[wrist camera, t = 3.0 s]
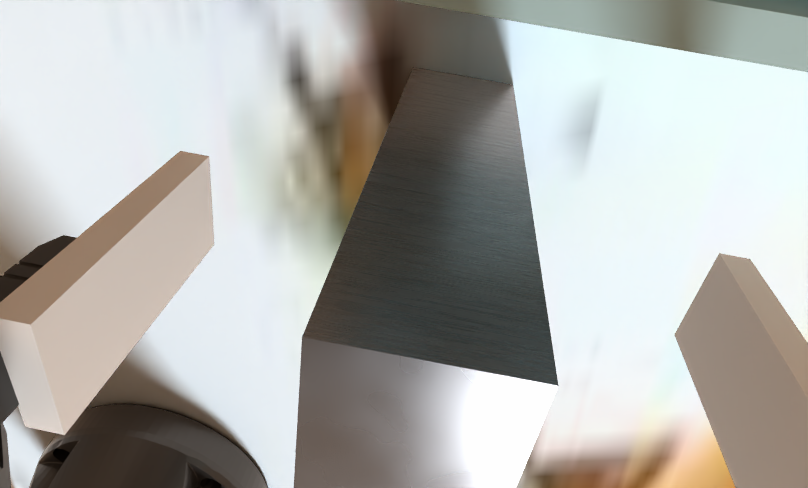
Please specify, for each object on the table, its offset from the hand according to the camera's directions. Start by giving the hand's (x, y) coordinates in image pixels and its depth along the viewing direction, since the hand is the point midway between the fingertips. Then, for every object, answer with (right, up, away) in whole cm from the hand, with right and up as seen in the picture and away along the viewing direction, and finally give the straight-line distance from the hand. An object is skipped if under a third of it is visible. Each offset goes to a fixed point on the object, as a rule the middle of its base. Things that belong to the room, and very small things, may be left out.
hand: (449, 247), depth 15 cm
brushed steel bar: (+1, +5, +8) cm, 10 cm away
